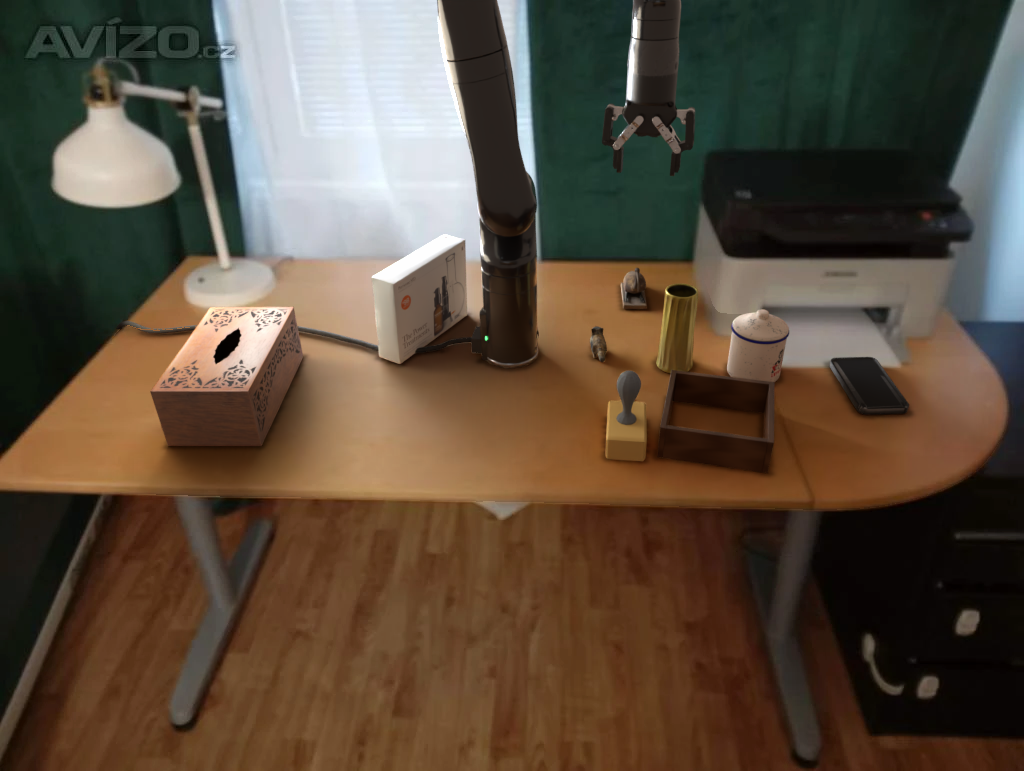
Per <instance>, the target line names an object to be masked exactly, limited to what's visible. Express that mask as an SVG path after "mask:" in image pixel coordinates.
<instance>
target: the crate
mask: <svg viewBox="0 0 1024 771" xmlns="http://www.w3.org/2000/svg"><path fill="white" fill-rule="evenodd" d="M775 384H776V381H775V382H769V381H760V380H752V379H744V378H735V377H731V376H726V375H717V374H709V373H701V372H695V371H693V372H692V371H688V372H685V371H676V370H671V373H670V375H669V381H668V385H667V391H666V395H665V400H664V406H663V411H662V415H661V420H660V424H659V431H658V443H657V454H656V458H659V459H667V460H673V461H680V462H687V463H694V464H700V465H706V466H714V467H721V468H729V469H734V470H741V471H742V470H743V471H750V472H755V473H762V474H769V471H770V466H771V465H770V464H771V460H772V455H773V450H774V444H775V386H776V385H775ZM674 403H680V404H689V405H690V404H691V405H698V406H704V407H711V408H712V407H713V408H720V409H729V410H737V411H744V412H752V413H759V414H763V431H762V432H763V433H762V437H757V436H750V435H744V434H735V433H729V432H720V431H713V430H705V429H699V428H691V427H686V426H685V427H684V426H677V425H669V424H670V421H671V417H672V416H671V415H672V410H673V405H674Z"/></svg>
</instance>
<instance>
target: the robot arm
mask: <svg viewBox="0 0 1024 771" xmlns="http://www.w3.org/2000/svg"><path fill="white" fill-rule="evenodd" d="M436 6H437V22H438V23H437V24H438V34H439V42H440V47H441V53H442V59H443V62H444V67H445V71H446V75H447V80H448V84H449V88H450V92H451V95H452V98H453V101H454V106H455V109H456V112H457V116H458V118H459V122H460V125H461V128H462V131H463V134H464V136H465V139H466V142H467V146H468V149H469V154H470V157H471V163H472V169H473V175H474V183H475V191H476V204H477V206H476V208H477V213H478V224H479V225H478V226H479V256H480V257H479V258H480V271H481V272H480V274H481V294H482V295H481V297H482V307H481V308H480V310H479V313H478V314H479V325H475V328H474V330H473V333H472V335H471V336H466V337H465V336H464V337H457V338H452V339H448V340H446V341H444V342H441V343H439V344H433V345H428V346H424V347H421V348H417V349H416V351H415V354H422V353H430V352H436V351H440V350H443V349H445V348H448V347H449V346H452V345H459V344H470V346H471V347H470V348H471V354H481V361H486V362H488V363H489V364H490V365H493V366H495V367H498V368H503V369H519V368H523V367H526V366H529V365H531V364H532V363H534V362H535V361H536V360H537V359H538V357H539V346H538V345H539V339H540V330H539V327H538V247H537V246H538V245H537V244H538V243H537V212H538V211H537V209H538V198H537V192H536V186H535V182H534V180H533V178H532V176H531V175H530V173H529V172H528V171H527V168H526V166H525V162H524V159H523V155H522V151H521V146H520V140H519V130H518V128H519V127H518V110H517V99H516V97H517V96H516V89H515V80H514V71H513V65H512V62H511V56H510V55H511V54H510V50H509V45H508V40H507V36H506V35H507V34H506V32H505V29H504V23H503V19H502V14H501V11H500V6H499V3H498V0H436ZM681 17H682V1H681V0H632V12H631V30H630V31H631V33H630V35H631V36H630V40H629V41H630V42H629V47H628V56H627V60H626V67H627V72H626V73H627V75H626V94H625V103H624V106H618V105H615V104H614V103H609V104H608V105H607V106H606V108H605V109H604V116H603V126H602V137H601V144H602V145H603V146H606V147H607V146H608V147H610V148H612V151H613V153H612V168H613V169H614V170H616V173H617V174H618V173H619V174H621V173H622V172H623V168H624V151H625V150H624V149H625V147H624V146H623V145H624V144H625V143H626V142H627V141H629V139H630V137H631V136H633V134H634V135H636V136H637V137H641V138H642V137H651V138H658V137H660V136H661V137H662V138H663V140H664V141H665V143H667V145H668V146H669V148H670V149H671V154H670V156H671V157H670V167H669V169H670V170H669V176H670V177H675V175H676V173H679V171H680V169H681V162H682V153H683V152H685V151H691V150H693V148H694V145H695V133H696V132H695V129H696V128H695V127H696V108H695V107H694V106H690V107H688V108H686V109H682V108H679V109H678V108H677V106H676V100H677V99H676V97H677V87H678V86H677V85H678V75H679V62H680V29H681ZM620 115H622V118H623V119H624V120H625V123H627V126H626V127H624V129H623V131H622V132H621V133H620V134H619V135H618V137H616V136H613V131H614V122H615V121H617V120H618V118H619V116H620ZM677 118H679V119H680V123H681V124H682V125H684V126H685V129H684V130H685V132H684V133H685V134H684V135H685V136H684V140H680V138H679V137H678V135H677V133H676V131H675V129H674V127H673V126H672V124H673V123H674V122H675V121H676V119H677ZM125 325H126V326H125ZM127 325H130V326H133V327H136V328H141V329H151V328H152V327H147V326H144V325H141V324H139V323H137V322H134V321H130V320H124V321H121V322H120V323H119V324H117V326H116V330H122V329H124V328H125V327H128V326H127ZM197 325H198V324H193V325H185V326H184V325H183V326H184V328H182V327H183V326H178V327H177V326H175V327H167V328H164V329H165V330H162V329H163V328H153V329H154V330H157V329H158V330H160V331H153V330H140V329H136V328H134V329H135V330H137V331H141V332H143V333H146V334H154V335H155V334H156V335H161V334H163V335H164V334H175V333H183V332H184V333H185V332H190V331H191V332H193V331H194V329H195V328H196V327H197ZM130 326H129V327H130ZM195 326H196V327H195ZM133 327H132V328H133ZM185 327H190V328H185ZM297 327H298V332H299V333H300V332H301V333H306V334H310V335H316V336H321V337H326V338H329V339H333V340H338V341H341V342H345V343H349V344H351V345H352V344H353V345H357V346H360V347H362V348H363V347H364V348H367V349H369V350H373V351H376V352H379V350H378V344H374V343H371V342H368V341H364V340H362V339H357V338H354V337H349V336H346V335H342V334H338V333H334V332H330V331H325V330H321V329H316V328H312V327H307V326H300V325H297ZM177 328H182V329H177ZM166 329H173V330H166Z"/></svg>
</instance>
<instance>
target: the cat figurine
mask: <svg viewBox="0 0 1024 771" xmlns="http://www.w3.org/2000/svg"><path fill="white" fill-rule="evenodd" d="M590 331H591V333H590V334H591V335H590V338H589V344H590V352H591V353H592V357H593V359H597V357H598V360H599V362H600V363H605V361H606V354H607V351H608V346H607V341H606V338H605V335H604V327H601V326H598V325H597V326H596V325H595V326H593V327H592V328H591V329H590Z"/></svg>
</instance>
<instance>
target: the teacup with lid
mask: <svg viewBox="0 0 1024 771" xmlns="http://www.w3.org/2000/svg"><path fill="white" fill-rule="evenodd" d="M730 327H731V328H730V329H731V336H730V343H729V351H728V357H727V366H726V371H727V373H728V375H729V377H735V378H744V379H752V380H760V381H769V382H775V383H776V381H778V380H779V379H780V376H781V371H782V366H783V361H784V355H785V349H786V344H787V339H788V337H789V335H790V327H789V326H788V323H786V321H785V320H784V319H782V318H781V317H779V316H776V315H774V314H770V312H769V310H767V309H764V308H763V309H758V310H757V311H756V312H746V313H742V314H740V315H738V316H737V317H735V318H734V319H733V321H732V323H731V325H730Z"/></svg>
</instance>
